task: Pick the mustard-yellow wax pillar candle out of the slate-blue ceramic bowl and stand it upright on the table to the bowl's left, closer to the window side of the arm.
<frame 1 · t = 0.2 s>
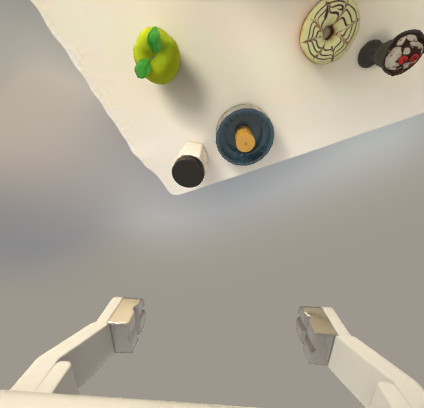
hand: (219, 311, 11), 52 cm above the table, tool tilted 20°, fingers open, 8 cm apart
fruit: (163, 57, 46), on the table
candle: (243, 133, 55), point 1 cm above the table, touching bowl
decorated donut: (323, 33, 43), on the table
bowl: (242, 133, 56), on the table
sundae: (369, 54, 45), on the table
jar: (193, 154, 60), on the table
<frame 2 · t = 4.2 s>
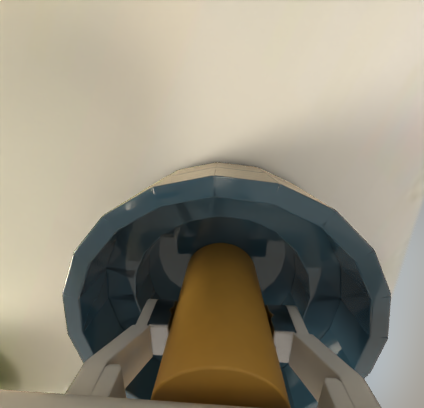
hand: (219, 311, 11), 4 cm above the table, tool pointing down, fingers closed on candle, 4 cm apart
candle: (220, 272, 14), point 1 cm above the table, touching bowl, gripper
bowl: (220, 267, 14), on the table
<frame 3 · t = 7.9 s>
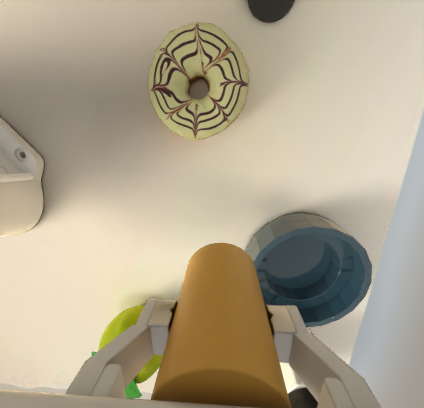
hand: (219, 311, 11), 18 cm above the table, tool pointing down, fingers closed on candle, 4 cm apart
fruit: (149, 313, 35), on the table
candle: (221, 272, 14), point 15 cm above the table, touching gripper
decorated donut: (200, 91, 24), on the table
bowl: (294, 258, 30), on the table
jar: (287, 337, 35), on the table
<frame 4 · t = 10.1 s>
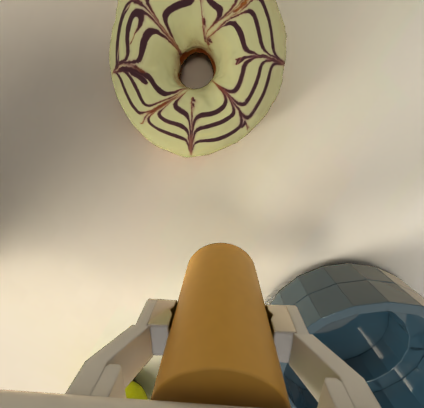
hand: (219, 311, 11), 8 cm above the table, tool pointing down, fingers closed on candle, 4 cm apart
fruit: (128, 385, 26), on the table
candle: (221, 272, 14), point 5 cm above the table, touching gripper
decorated donut: (198, 78, 15), on the table
bowl: (333, 320, 21), on the table
when the fingers open (3 cm above the table, at t = 11.8 s): candle stays where it is, on the table.
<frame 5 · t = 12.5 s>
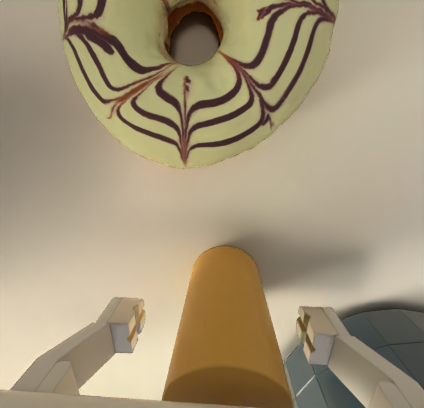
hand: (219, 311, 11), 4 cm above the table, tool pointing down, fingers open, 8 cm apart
candle: (225, 275, 14), on the table
decorated donut: (198, 55, 10), on the table
bowl: (369, 375, 16), on the table
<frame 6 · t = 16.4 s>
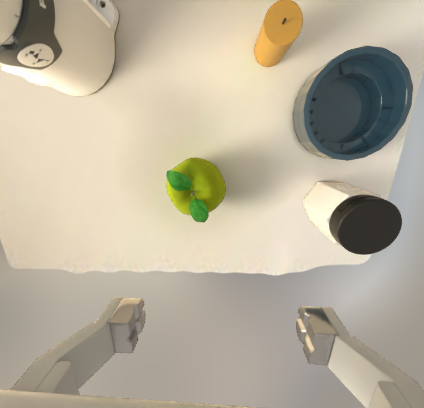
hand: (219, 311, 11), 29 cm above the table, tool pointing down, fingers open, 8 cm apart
fruit: (199, 181, 38), on the table
candle: (269, 49, 31), on the table
bowl: (336, 112, 33), on the table
jar: (325, 201, 38), on the table
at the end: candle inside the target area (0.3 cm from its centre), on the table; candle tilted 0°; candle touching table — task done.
